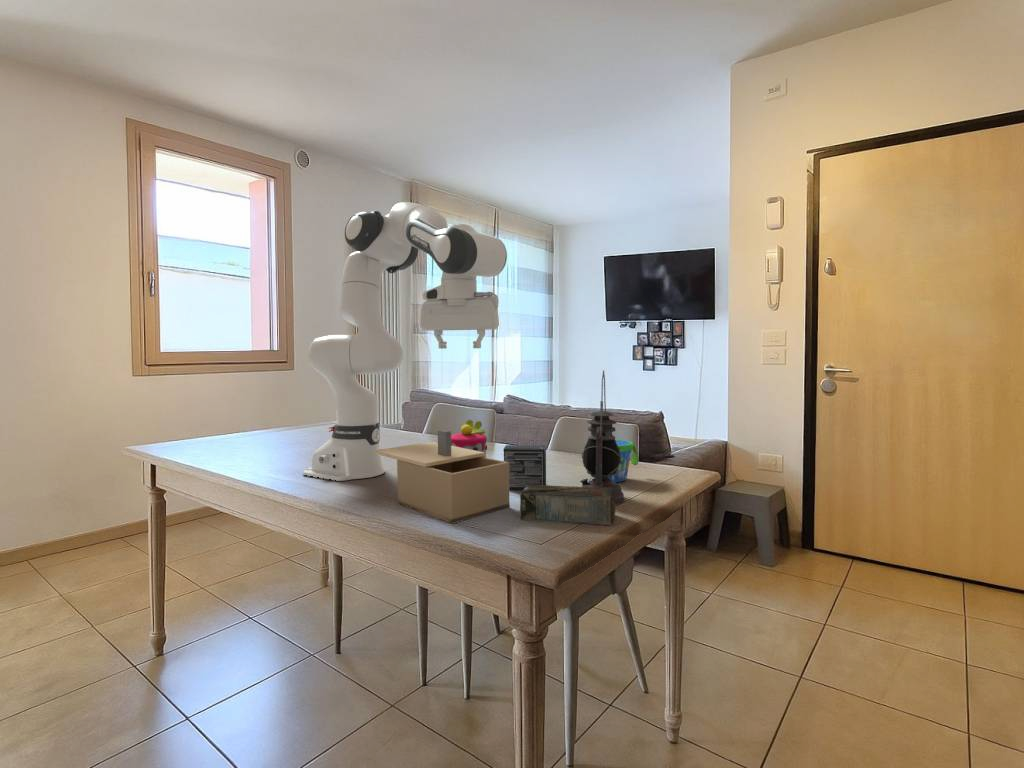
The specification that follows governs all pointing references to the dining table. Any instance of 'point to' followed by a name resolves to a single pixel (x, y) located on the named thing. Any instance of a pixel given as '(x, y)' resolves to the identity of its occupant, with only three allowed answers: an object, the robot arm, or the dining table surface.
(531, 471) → the small box
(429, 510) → the cardboard box
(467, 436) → the cake
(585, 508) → the beverage carton
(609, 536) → the dining table surface
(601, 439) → the lantern
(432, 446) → the lid flap
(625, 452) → the snack cup
